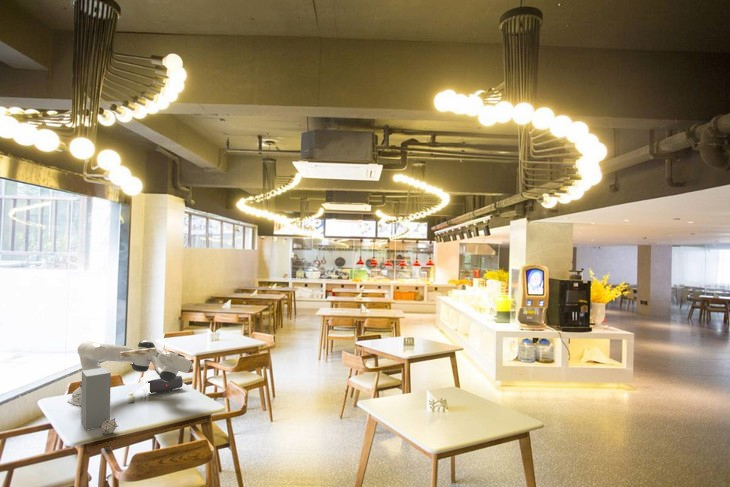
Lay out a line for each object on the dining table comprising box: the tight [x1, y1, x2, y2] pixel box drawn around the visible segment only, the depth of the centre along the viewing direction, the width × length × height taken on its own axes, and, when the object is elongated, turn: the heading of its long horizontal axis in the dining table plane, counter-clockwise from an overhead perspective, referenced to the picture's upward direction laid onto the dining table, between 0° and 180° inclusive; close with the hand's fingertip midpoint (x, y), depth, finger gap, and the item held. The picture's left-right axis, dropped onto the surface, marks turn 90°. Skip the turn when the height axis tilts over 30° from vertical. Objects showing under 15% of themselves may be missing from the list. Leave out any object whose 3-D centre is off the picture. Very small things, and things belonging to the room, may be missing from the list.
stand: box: [80, 367, 112, 431], centre depth 263 cm, size 12×16×30 cm
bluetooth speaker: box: [146, 375, 184, 394], centre depth 323 cm, size 23×9×10 cm, turn 131°
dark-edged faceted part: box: [99, 418, 119, 436], centre depth 248 cm, size 9×8×10 cm
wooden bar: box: [120, 347, 157, 358], centre depth 277 cm, size 20×3×3 cm, turn 130°
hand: (148, 350), depth 281 cm, fingers closed on wooden bar, 3 cm apart
